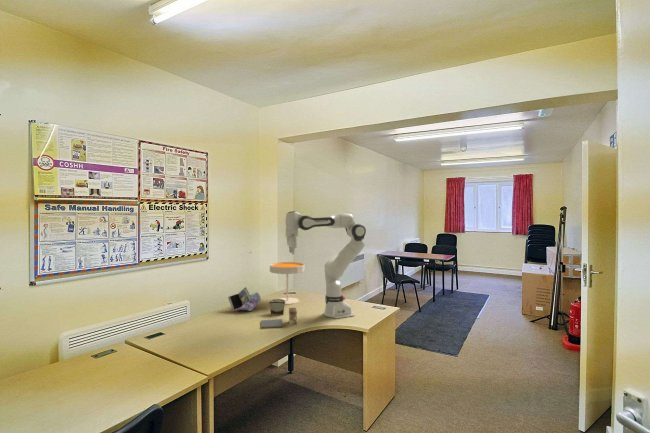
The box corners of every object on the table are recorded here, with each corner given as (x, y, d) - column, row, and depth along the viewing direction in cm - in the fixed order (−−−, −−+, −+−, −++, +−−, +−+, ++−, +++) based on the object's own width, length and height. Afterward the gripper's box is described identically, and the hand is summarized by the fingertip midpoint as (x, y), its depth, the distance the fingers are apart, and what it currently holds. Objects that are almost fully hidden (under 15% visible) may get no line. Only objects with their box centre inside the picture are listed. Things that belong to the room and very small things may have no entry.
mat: (281, 320, 230) (281, 319, 230) (283, 327, 216) (283, 325, 216) (261, 321, 228) (261, 320, 228) (261, 328, 214) (261, 327, 214)
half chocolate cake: (287, 312, 249) (287, 299, 249) (285, 314, 243) (285, 301, 243) (271, 311, 250) (271, 298, 250) (268, 314, 244) (268, 300, 244)
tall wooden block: (295, 320, 230) (295, 307, 230) (296, 324, 221) (296, 311, 221) (288, 320, 229) (288, 307, 229) (289, 325, 221) (289, 311, 221)
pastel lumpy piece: (266, 300, 265) (255, 281, 266) (257, 306, 243) (245, 285, 245) (245, 312, 267) (235, 293, 268) (234, 320, 245) (223, 299, 247)
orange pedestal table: (292, 295, 300) (292, 260, 300) (311, 302, 278) (312, 264, 277) (263, 300, 282) (263, 264, 281) (281, 308, 259) (281, 268, 258)
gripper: (298, 234, 228) (298, 254, 228) (293, 232, 247) (293, 251, 248) (289, 234, 226) (289, 255, 226) (285, 233, 246) (285, 251, 246)
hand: (291, 253), depth 237 cm, fingers open, 8 cm apart
